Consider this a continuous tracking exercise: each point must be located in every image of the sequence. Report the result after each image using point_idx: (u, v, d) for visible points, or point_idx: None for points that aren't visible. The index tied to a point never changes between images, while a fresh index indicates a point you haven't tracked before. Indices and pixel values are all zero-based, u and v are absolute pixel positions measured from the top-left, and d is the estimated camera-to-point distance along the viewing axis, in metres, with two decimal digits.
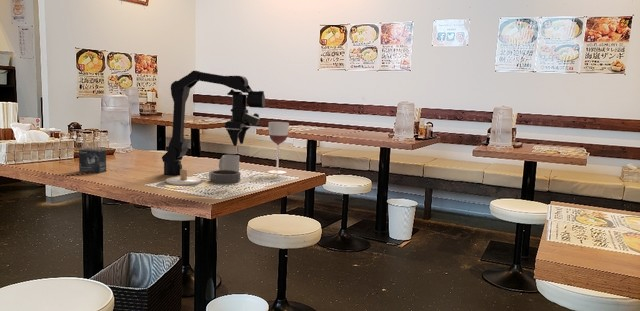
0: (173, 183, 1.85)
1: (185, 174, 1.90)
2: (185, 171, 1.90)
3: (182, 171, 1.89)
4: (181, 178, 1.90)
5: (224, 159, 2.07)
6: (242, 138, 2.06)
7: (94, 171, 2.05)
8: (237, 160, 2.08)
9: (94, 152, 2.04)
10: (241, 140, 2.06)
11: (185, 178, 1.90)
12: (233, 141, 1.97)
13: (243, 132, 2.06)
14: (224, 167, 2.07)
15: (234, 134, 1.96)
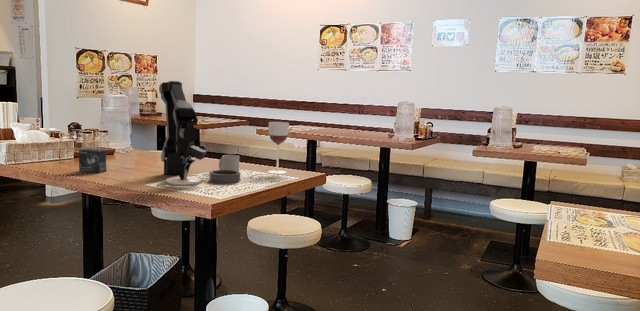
0: (173, 183, 1.85)
1: (185, 174, 1.90)
2: (185, 171, 1.90)
3: None
4: None
5: (224, 159, 2.07)
6: None
7: (94, 171, 2.05)
8: (237, 160, 2.08)
9: (94, 152, 2.04)
10: None
11: (185, 178, 1.90)
12: (180, 175, 1.88)
13: (187, 166, 1.92)
14: (224, 167, 2.07)
15: (180, 168, 1.88)
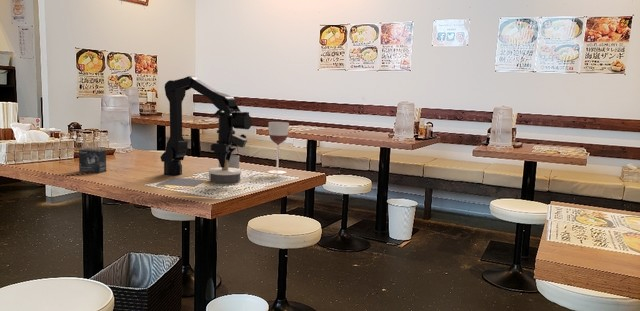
0: (216, 173, 1.91)
1: (226, 164, 1.96)
2: (227, 162, 1.95)
3: None
4: (223, 168, 1.96)
5: None
6: None
7: (94, 171, 2.05)
8: (237, 160, 2.08)
9: (94, 152, 2.04)
10: None
11: (226, 168, 1.96)
12: (221, 163, 1.93)
13: (228, 154, 1.99)
14: None
15: (222, 156, 1.92)
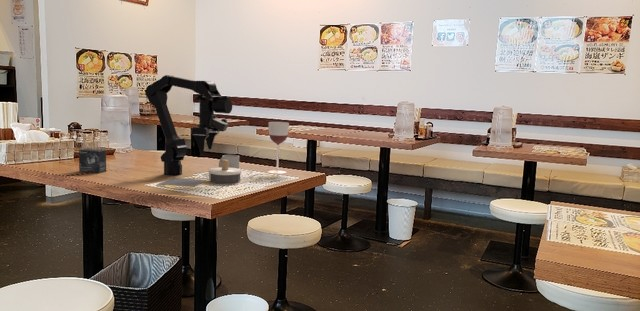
0: (216, 173, 1.91)
1: (226, 164, 1.96)
2: (227, 162, 1.95)
3: (224, 162, 1.95)
4: (223, 168, 1.96)
5: (224, 159, 2.07)
6: (210, 144, 2.04)
7: (94, 171, 2.05)
8: (237, 160, 2.08)
9: (94, 152, 2.04)
10: (209, 146, 2.04)
11: (226, 168, 1.96)
12: (200, 147, 1.94)
13: (211, 138, 2.04)
14: None
15: (201, 140, 1.93)
